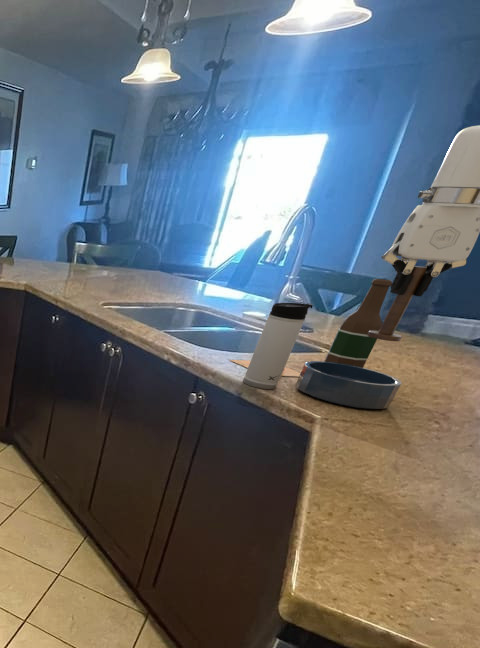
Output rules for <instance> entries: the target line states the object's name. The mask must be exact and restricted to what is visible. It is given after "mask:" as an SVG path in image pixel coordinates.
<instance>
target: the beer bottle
mask: <svg viewBox="0 0 480 648" xmlns="http://www.w3.org/2000/svg"><path fill="white" fill-rule="evenodd" d="M370 283H371V286H370V287H369V289H368V291H367V293H366V295H365V296H364V298H363V300H362V302H361V303H360V305H359V306H358V308H357V309H356V310H355V311H353V312H352V313H350V314H348V316H346V317H345V318H344V320H343V321H342V323H341V324H340V326H339V328H338V329H337V332H336V334H335V337H334V338H333V341H332V343H331V345H330V348H329V350H328V351H327V354H326V356H325V359H324V362H335V363H341V364H348V365H353V366H358V367H363V368H365V365H366V362H367V361H368V359H369V357H370V355H371V352H372V350H373V348H374V347H375V345H376V342H377V341H378V339H376V338H372V337H369V336H367V334H368V332H369V331H371V330H374V331H379V330H380V328H381V326H382V324H383V321H382V318H381V316H380V314H381V309H382V306H383V304H384V301H385V299H386V296H387V293H388V291H389V289H390V287H391V285H392V283H393V281H392V280H391V279H386V278H385V279H384V278H374V279H372V281H371V282H370Z"/></svg>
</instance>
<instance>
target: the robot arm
mask: <svg viewBox="0 0 480 648" xmlns="http://www.w3.org/2000/svg"><path fill="white" fill-rule="evenodd" d="M417 198H418V199H422V204H418V205H417V206H416V207H415V208H414V209H413V211H412V212H411V213H410V215H409V216H408V217H407V219H406V220H405V222H404V223H403V225H402V227H401V228H400V230H399V231H398V233H397V235H396V236H395V239H394V240H393V242H392V245H391V247H390V248H389V249H388V250H387V251H386V252H385V253H384V254H383V255H382V256H381V260H382V261H385V262H386V263H388V264H390V265H391V266H392V267H393V269H394V272H395V273H396V275H395V277H394V279H393V281H392V285H391V286H390V291H389V292H390V293H391V294H395V295H397V294H398V295H402V294H404V292H405V290H406V288H407V286H408V285H409V283H410V281H411V279H412V275H410V273H411V271H412V269H413V268H414V266H416V264H417V262H418V260H425V261H426V263H425V265H424V267H427V269H426V271H425V273H424V275H423V277H422V279H421V281H420V283H419V285H418V287H417V289H416V291H415V293H414V295H413V296H414V297H422V296H423V295H424V293H425V292H427V291H428V289H429V286H430V285H431V283H432V281H433V280H434V278H437V277H438V276H439V275H440V274H442V273H444V272H446V271H448V270H450V269H455V268H459V267H464V266H465V265H466V264H467V258H468V257H469V256H470V254H471V252H472V250H473V248H474V247H475V244H476V243H477V240H478V237H479V235H480V124H479V125H471V126H468V127H465V128H463V129H462V130H460V131H458V133H457V134H456V135H455V137H454V138H453V140H452V143H451V144H450V147H449V149H448V151H447V152H446V155H445V157H444V158H443V161H442V164H441V165H440V168H439V169H438V172H437V174H436V176H435V178H434V179H433V182H432V183H431V186H430V187H428V189H427V190H420V191H419V193H418V194H417ZM398 257H400V258H398Z"/></svg>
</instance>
